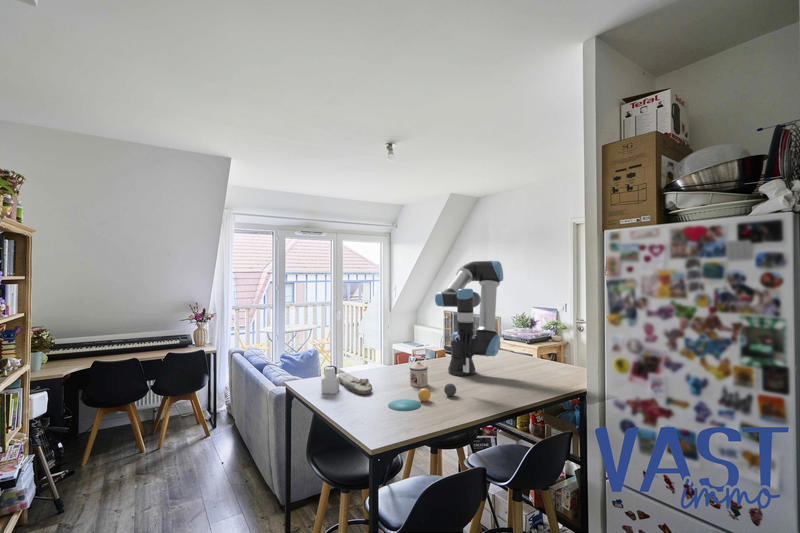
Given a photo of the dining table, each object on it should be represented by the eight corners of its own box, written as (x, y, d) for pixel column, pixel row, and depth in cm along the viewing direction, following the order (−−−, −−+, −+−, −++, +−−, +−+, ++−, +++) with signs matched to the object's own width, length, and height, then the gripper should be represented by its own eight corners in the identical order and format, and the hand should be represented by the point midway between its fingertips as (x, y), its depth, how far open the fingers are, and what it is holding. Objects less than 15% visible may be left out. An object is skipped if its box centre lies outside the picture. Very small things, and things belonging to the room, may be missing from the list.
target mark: (410, 397, 175) (410, 397, 175) (427, 407, 162) (427, 406, 162) (382, 403, 168) (382, 402, 168) (398, 413, 156) (398, 412, 156)
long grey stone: (350, 379, 212) (333, 383, 207) (349, 370, 212) (332, 373, 207) (378, 393, 182) (358, 397, 177) (377, 381, 182) (357, 386, 177)
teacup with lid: (406, 383, 197) (406, 360, 197) (422, 381, 201) (422, 358, 201) (418, 390, 186) (418, 365, 186) (434, 387, 190) (434, 363, 190)
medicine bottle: (324, 389, 189) (324, 364, 189) (339, 389, 189) (339, 364, 189) (321, 394, 182) (321, 368, 182) (336, 394, 182) (336, 368, 182)
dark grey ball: (451, 393, 180) (451, 381, 180) (458, 396, 176) (458, 384, 176) (441, 395, 178) (441, 383, 178) (448, 398, 173) (448, 386, 173)
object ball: (426, 398, 174) (426, 386, 174) (433, 401, 169) (432, 389, 169) (415, 400, 171) (415, 387, 171) (422, 403, 166) (422, 391, 166)
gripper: (471, 319, 188) (471, 368, 187) (449, 321, 182) (450, 372, 181) (481, 321, 182) (482, 371, 181) (459, 323, 175) (459, 375, 175)
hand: (466, 371), depth 181 cm, fingers closed
